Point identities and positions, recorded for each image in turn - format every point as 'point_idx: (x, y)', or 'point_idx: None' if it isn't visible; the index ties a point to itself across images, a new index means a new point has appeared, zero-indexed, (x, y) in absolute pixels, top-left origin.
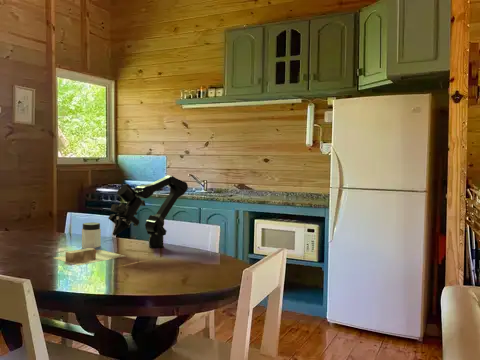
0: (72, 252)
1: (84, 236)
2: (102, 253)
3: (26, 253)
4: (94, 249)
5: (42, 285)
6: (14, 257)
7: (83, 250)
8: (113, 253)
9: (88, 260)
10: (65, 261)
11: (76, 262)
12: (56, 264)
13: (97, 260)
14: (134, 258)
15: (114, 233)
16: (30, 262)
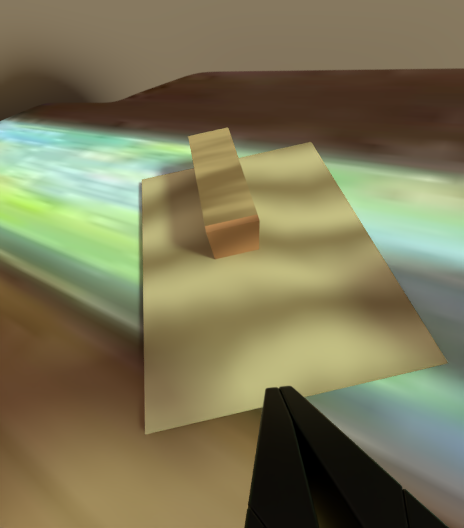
0: (197, 142)
1: None
2: (305, 327)
3: (457, 104)
4: (205, 227)
5: (58, 108)
6: (392, 83)
7: (208, 179)
8: None
9: (188, 222)
10: None
11: (187, 183)
12: None
13: (162, 250)
14: (82, 470)
15: (264, 406)
16: (295, 105)
